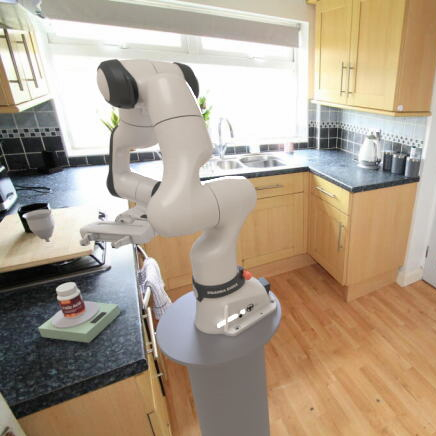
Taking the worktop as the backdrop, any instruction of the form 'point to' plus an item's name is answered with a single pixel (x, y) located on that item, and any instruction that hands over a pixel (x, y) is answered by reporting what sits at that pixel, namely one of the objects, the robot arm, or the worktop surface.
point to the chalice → (40, 223)
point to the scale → (80, 323)
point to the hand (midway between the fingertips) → (97, 244)
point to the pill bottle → (70, 300)
